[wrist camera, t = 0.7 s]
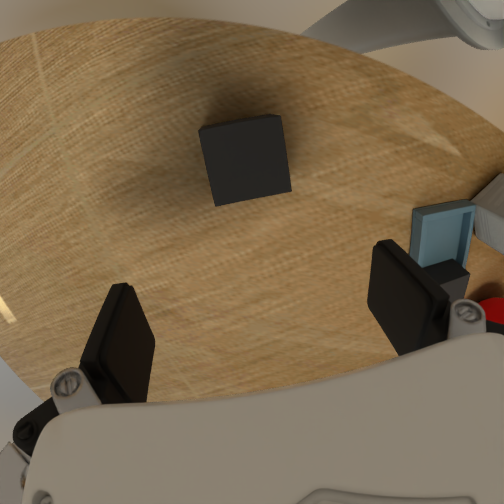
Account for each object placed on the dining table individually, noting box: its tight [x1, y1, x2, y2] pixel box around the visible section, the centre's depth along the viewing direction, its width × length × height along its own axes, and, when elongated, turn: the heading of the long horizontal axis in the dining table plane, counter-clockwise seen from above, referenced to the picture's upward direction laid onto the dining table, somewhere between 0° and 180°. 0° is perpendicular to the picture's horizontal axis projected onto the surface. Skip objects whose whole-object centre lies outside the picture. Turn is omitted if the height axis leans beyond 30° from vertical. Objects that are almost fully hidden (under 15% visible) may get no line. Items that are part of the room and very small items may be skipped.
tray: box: [409, 199, 476, 269], centre depth 32 cm, size 15×9×2 cm, turn 10°
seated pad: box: [423, 258, 470, 303], centre depth 32 cm, size 6×6×4 cm
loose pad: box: [198, 114, 292, 206], centre depth 23 cm, size 6×6×4 cm
